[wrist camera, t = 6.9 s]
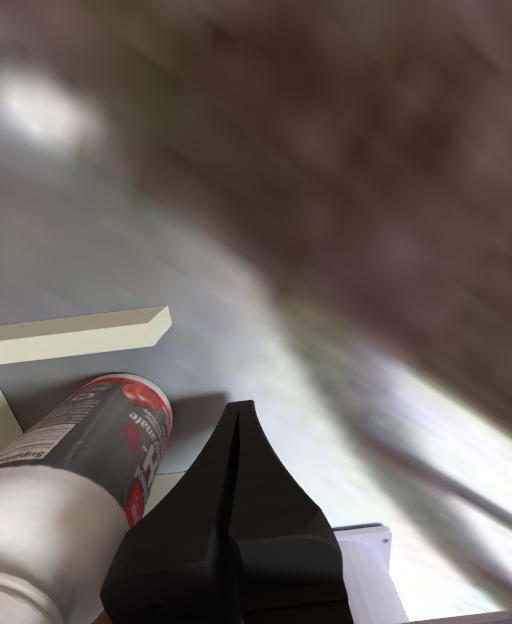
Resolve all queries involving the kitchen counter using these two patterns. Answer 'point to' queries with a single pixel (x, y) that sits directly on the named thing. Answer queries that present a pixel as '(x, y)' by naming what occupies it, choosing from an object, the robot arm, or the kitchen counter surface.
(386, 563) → the robot arm
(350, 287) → the kitchen counter surface
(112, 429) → the pill bottle
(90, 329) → the u-shaped bracket
